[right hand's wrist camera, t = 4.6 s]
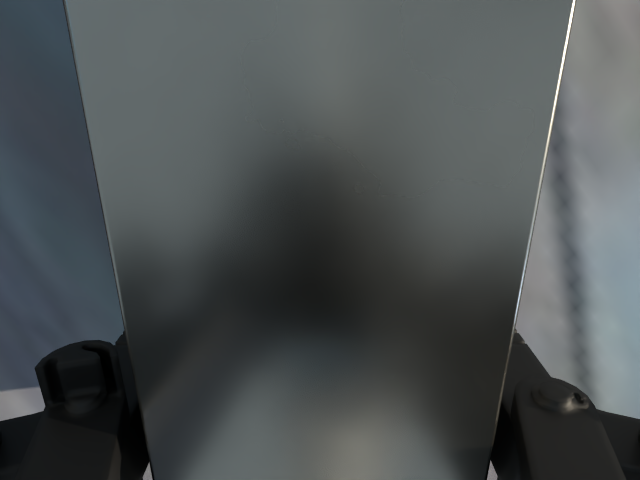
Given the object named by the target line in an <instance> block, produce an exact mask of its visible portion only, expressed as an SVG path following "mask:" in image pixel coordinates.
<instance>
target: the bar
mask: <svg viewBox="0 0 640 480" xmlns="http://www.w3.org/2000/svg"><path fill="white" fill-rule="evenodd" d="M63 4H64V10H65V15H66V20H67V26H68V31H69V36H70V42H71V47H72V52H73V58H74V63H75V68H76V74H77V79H78V84H79V90H80V95H81V100H82V105H83V111H84V116H85V121H86V127H87V132H88V137H89V143H90V148H91V153H92V159H93V164H94V169H95V175H96V180H97V185H98V191H99V196H100V201H101V207H102V212H103V217H104V223H105V228H106V233H107V239H108V244H109V249H110V255H111V260H112V265H113V271H114V276H115V281H116V287H117V292H118V297H119V302H120V308H121V313H122V318H123V324H124V329H125V334H126V340H127V345H128V350H129V356H130V361H131V366H132V372H133V377H134V382H135V388H136V393H137V398H138V404H139V409H140V414H141V420H142V425H143V430H144V436H145V441H146V446H147V452H148V457H149V462H150V468H151V473H152V478H153V480H487V476H488V470H489V465H490V460H491V454H492V449H493V444H494V438H495V433H496V428H497V422H498V417H499V412H500V406H501V401H502V395H503V390H504V385H505V379H506V374H507V369H508V363H509V358H510V353H511V347H512V342H513V337H514V331H515V326H516V321H517V315H518V310H519V305H520V299H521V294H522V289H523V283H524V278H525V273H526V267H527V262H528V257H529V251H530V246H531V241H532V235H533V230H534V224H535V219H536V214H537V208H538V203H539V198H540V192H541V187H542V182H543V176H544V171H545V166H546V160H547V155H548V150H549V144H550V139H551V134H552V128H553V123H554V118H555V112H556V107H557V102H558V96H559V91H560V86H561V80H562V75H563V70H564V64H565V59H566V54H567V48H568V43H569V37H570V32H571V27H572V21H573V16H574V11H575V5H576V0H63Z"/></svg>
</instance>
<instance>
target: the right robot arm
mask: <svg viewBox="0 0 640 480" xmlns="http://www.w3.org/2000/svg"><path fill="white" fill-rule="evenodd" d="M35 371H36V374H37V378H38V382H39V385H40V389H41V392H42V396H43V399H44V403H45V409H44V411H42V412H39V413H35V414H31V415H26V416H22V417H17V418H13V419H8V420H4V421H0V480H143V475H144V473H145V470H146V468H147V466H148V463H149V457H148V452H147V446H146V441H145V436H144V430H143V425H142V420H141V414H140V409H139V404H138V398H137V393H136V388H135V382H134V377H133V372H132V366H131V361H130V356H129V350H128V345H127V340H126V334H125V330H124V332H123V335H121V336H120V337H119V339H118V340H117V341H116V344H115V345H112V344H111V343H109V342H105V341H101V340H89V341H81V342H77V343H73V344H69V345H67V346H64V347H62V348H59V349H57V350H55V351H53V352H52V353H50V354H49V355H47V356H46V357H44V358H43V359H42V360H41V361H40V362H39V363H38V365H37V366H36V367H35ZM491 462H492V464H493V466H494V469H495V471H496V473H497V476H498V477H497V480H640V419H636V418H632V417H627V416H622V415H618V414H613V413H609V412H605V411H601V410H598V409H596V408H595V406H594V404H593V403H592V401H591V400H590V399H589V397H588V396H587V395H586V394H585V393H583V392H582V391H581V390H579V389H578V388H577V387H575V386H573V385H571V384H569V383H567V382H565V381H563V380H560V379H556V378H552V377H551V376H550V375H549V374H548V372H547V371H546V370H545V368H544V367H543V366H542V364H541V363H540V362H539V360H538V359H537V357H536V356H535V355H534V353H533V352H532V351H531V349H530V348H529V347H528V345H527V344H525V343H524V340H523V338H522V337H521V336H520V334H519V333H517V330H516V329H515V331H514V337H513V342H512V347H511V353H510V358H509V363H508V369H507V374H506V379H505V385H504V390H503V395H502V401H501V406H500V412H499V417H498V422H497V428H496V433H495V438H494V444H493V449H492V454H491Z"/></svg>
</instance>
